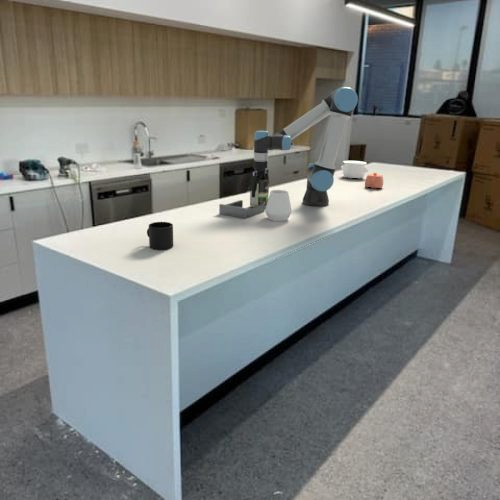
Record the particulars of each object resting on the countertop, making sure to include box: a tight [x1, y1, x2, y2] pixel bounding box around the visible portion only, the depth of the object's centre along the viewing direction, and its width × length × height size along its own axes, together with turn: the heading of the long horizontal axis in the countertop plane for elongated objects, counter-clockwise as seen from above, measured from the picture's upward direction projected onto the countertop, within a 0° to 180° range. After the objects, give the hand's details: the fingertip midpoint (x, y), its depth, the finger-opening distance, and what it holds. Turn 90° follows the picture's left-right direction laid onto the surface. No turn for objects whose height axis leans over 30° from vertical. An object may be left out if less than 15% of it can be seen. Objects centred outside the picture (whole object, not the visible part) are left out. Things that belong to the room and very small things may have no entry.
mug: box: [146, 221, 174, 251], centre depth 183 cm, size 9×12×9 cm
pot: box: [340, 160, 369, 179], centre depth 356 cm, size 22×17×12 cm
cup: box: [264, 189, 293, 222], centre depth 229 cm, size 13×13×14 cm
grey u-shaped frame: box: [218, 199, 266, 219], centre depth 240 cm, size 16×20×5 cm
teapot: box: [364, 172, 384, 189], centre depth 318 cm, size 12×18×10 cm, turn 151°
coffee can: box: [249, 179, 270, 208], centre depth 252 cm, size 10×10×14 cm
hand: (259, 201), depth 253 cm, fingers closed on coffee can, 10 cm apart
